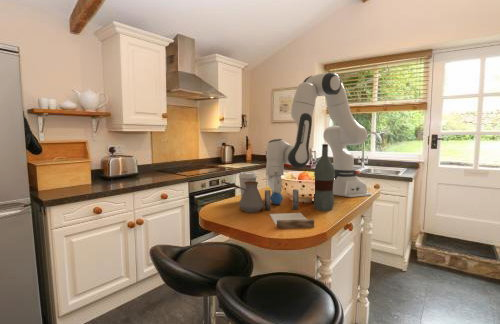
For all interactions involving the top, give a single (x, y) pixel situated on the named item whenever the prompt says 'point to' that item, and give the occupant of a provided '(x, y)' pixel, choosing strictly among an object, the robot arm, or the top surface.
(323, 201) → the bottle
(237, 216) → the top surface
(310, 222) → the wall
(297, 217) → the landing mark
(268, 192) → the left post
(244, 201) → the coffee pot
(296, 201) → the right post
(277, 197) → the ball
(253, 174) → the coffee cup
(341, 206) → the top surface
